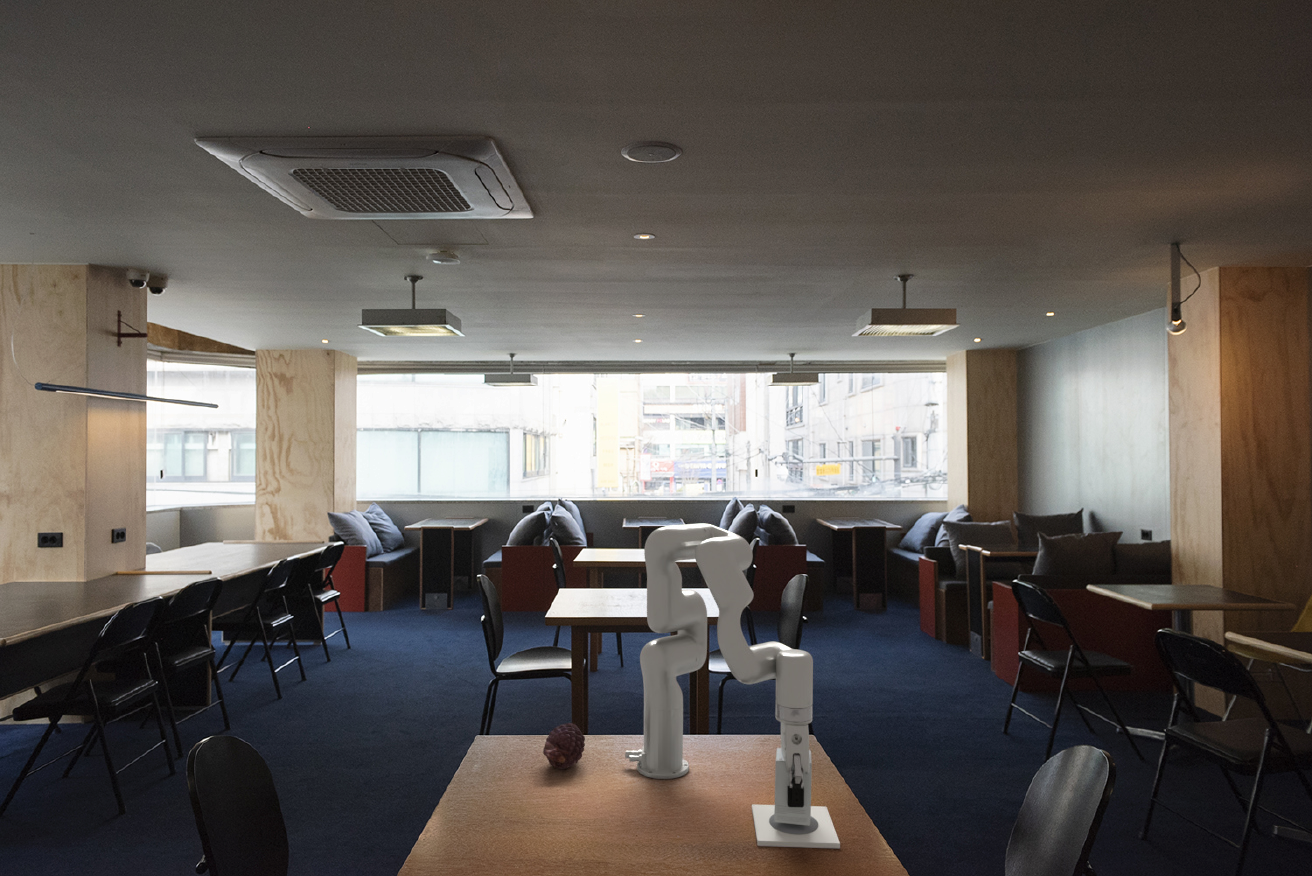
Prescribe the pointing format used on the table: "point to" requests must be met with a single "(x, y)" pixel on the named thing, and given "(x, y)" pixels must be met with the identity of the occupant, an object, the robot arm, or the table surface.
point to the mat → (794, 829)
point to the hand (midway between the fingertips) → (793, 796)
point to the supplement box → (781, 794)
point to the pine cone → (564, 746)
